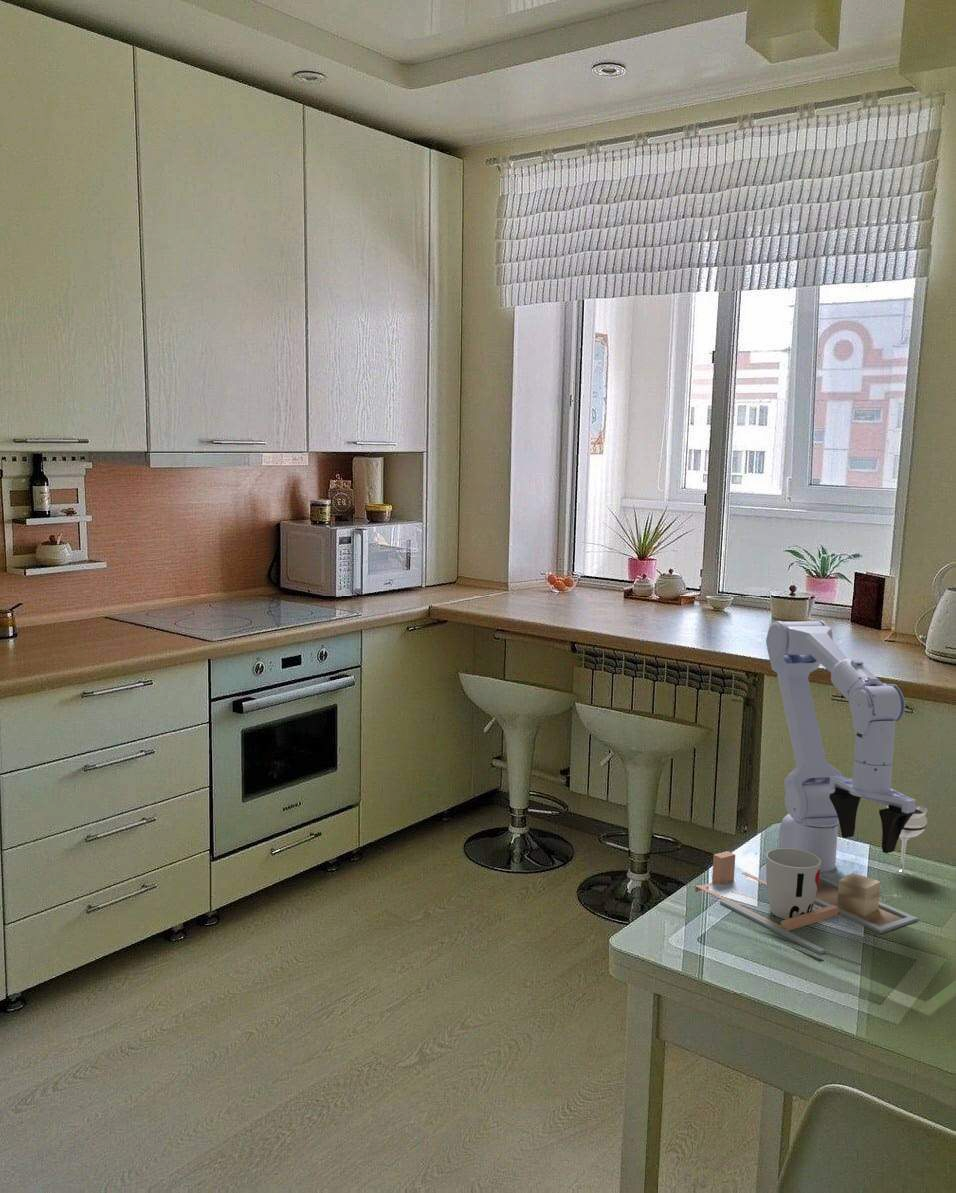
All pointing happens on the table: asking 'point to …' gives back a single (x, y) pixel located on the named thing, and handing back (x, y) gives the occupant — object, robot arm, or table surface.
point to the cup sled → (725, 873)
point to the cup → (791, 881)
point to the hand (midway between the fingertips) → (867, 844)
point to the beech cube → (858, 894)
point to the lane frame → (906, 917)
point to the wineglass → (912, 830)
